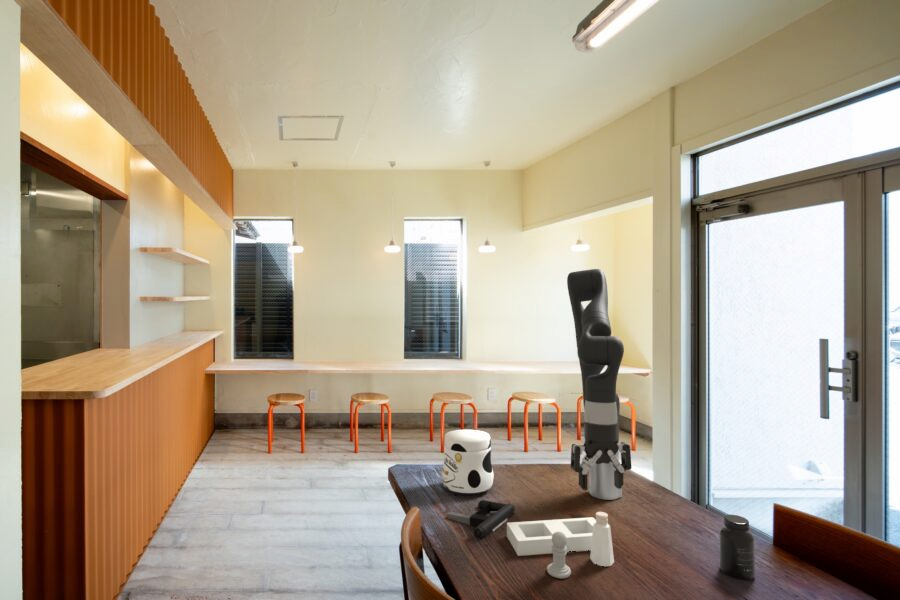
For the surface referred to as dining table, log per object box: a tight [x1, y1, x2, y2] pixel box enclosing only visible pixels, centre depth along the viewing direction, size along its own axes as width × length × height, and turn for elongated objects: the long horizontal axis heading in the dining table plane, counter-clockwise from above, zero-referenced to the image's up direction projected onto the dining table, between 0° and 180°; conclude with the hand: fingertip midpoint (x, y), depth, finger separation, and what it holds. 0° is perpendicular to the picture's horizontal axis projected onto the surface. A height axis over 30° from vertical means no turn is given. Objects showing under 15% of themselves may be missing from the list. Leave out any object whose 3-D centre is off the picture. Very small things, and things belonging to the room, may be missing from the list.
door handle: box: [446, 499, 515, 539], centre depth 131 cm, size 3×20×16 cm
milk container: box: [441, 428, 495, 496], centre depth 154 cm, size 17×17×18 cm
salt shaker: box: [589, 511, 615, 567], centre depth 109 cm, size 5×5×11 cm
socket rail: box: [506, 516, 596, 557], centre depth 118 cm, size 24×10×4 cm, turn 99°
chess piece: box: [546, 532, 572, 580], centre depth 104 cm, size 5×5×9 cm
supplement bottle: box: [718, 514, 756, 581], centre depth 105 cm, size 7×7×12 cm
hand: (601, 488), depth 110 cm, fingers open, 8 cm apart
